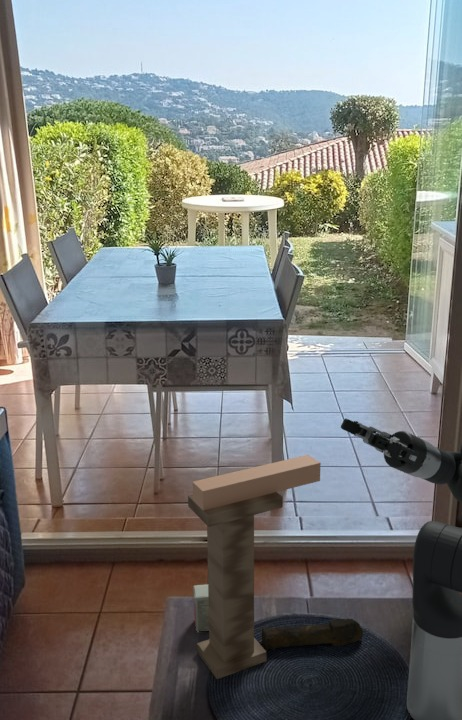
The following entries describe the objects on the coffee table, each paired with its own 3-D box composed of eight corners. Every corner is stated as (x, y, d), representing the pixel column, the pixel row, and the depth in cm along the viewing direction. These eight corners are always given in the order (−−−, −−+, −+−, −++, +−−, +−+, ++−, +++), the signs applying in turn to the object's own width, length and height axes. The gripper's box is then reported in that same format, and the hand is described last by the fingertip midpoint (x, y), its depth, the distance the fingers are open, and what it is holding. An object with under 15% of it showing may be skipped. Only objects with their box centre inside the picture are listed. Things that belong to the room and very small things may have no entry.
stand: (258, 631, 140) (259, 478, 131) (280, 655, 133) (282, 496, 124) (192, 654, 134) (187, 495, 125) (211, 681, 127) (208, 515, 118)
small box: (219, 617, 144) (219, 582, 142) (221, 631, 140) (221, 595, 138) (194, 619, 144) (193, 584, 141) (195, 633, 140) (194, 597, 137)
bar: (307, 472, 133) (308, 454, 132) (320, 480, 130) (320, 462, 129) (192, 500, 123) (192, 481, 122) (203, 510, 120) (202, 491, 119)
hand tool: (262, 655, 134) (263, 633, 132) (260, 640, 138) (260, 619, 136) (365, 650, 135) (366, 629, 133) (360, 636, 139) (361, 615, 137)
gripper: (397, 426, 151) (343, 401, 143) (446, 451, 139) (390, 425, 131) (381, 459, 152) (326, 435, 143) (429, 486, 140) (371, 462, 131)
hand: (357, 430), depth 137 cm, fingers open, 8 cm apart
